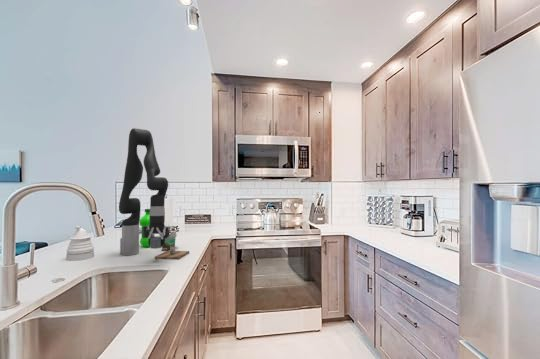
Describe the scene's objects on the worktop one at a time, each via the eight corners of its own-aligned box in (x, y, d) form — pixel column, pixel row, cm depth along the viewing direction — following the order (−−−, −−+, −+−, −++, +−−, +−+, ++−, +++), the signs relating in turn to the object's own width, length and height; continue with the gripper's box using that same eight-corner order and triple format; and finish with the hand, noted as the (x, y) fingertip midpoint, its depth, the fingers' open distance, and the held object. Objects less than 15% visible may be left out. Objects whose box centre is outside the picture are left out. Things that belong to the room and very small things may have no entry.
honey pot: (79, 261, 146) (80, 228, 146) (60, 260, 148) (60, 227, 149) (99, 255, 158) (99, 224, 159) (81, 254, 161) (81, 224, 161)
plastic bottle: (144, 244, 186) (144, 208, 186) (159, 244, 185) (159, 208, 186) (136, 248, 176) (136, 209, 176) (152, 248, 175) (152, 209, 176)
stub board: (154, 258, 150) (154, 250, 150) (167, 252, 163) (167, 244, 164) (178, 259, 148) (178, 250, 148) (189, 253, 162) (189, 245, 162)
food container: (169, 251, 166) (169, 235, 166) (160, 251, 167) (160, 235, 167) (180, 247, 178) (180, 232, 178) (171, 246, 179) (171, 231, 179)
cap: (148, 248, 142) (148, 238, 142) (154, 245, 148) (154, 236, 148) (159, 248, 141) (159, 238, 141) (164, 246, 147) (164, 236, 147)
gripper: (140, 214, 142) (139, 246, 142) (166, 215, 140) (166, 247, 140) (148, 213, 149) (147, 243, 149) (173, 213, 148) (172, 244, 148)
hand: (156, 245), depth 145 cm, fingers closed on cap, 6 cm apart
